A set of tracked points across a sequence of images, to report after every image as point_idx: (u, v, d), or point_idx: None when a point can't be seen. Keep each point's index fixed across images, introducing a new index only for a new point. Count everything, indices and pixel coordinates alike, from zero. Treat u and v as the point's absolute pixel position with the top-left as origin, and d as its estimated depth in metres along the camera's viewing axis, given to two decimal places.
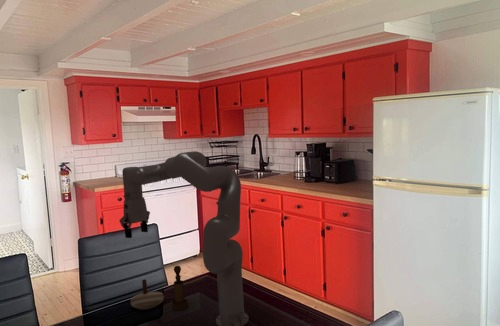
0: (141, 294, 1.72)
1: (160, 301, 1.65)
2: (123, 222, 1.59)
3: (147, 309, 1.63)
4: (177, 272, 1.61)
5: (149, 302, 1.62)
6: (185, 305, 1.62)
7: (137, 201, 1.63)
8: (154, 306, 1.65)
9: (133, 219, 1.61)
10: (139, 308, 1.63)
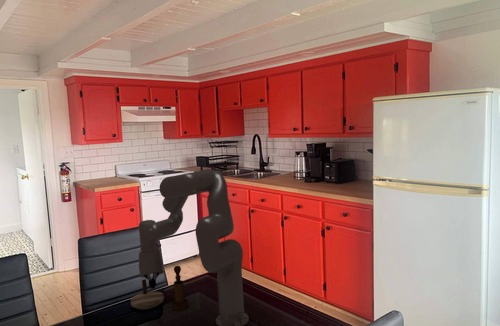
0: (141, 294, 1.72)
1: (160, 301, 1.65)
2: None
3: (147, 309, 1.63)
4: (177, 272, 1.61)
5: (149, 302, 1.62)
6: (185, 305, 1.62)
7: None
8: (154, 306, 1.65)
9: None
10: (139, 308, 1.63)
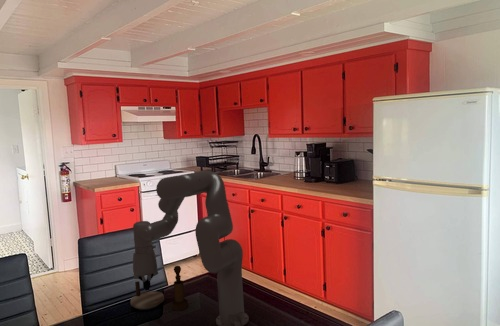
0: (136, 297, 1.69)
1: (163, 297, 1.69)
2: None
3: (147, 309, 1.63)
4: (177, 272, 1.61)
5: (156, 300, 1.64)
6: (185, 305, 1.62)
7: None
8: (154, 306, 1.65)
9: None
10: (139, 308, 1.63)
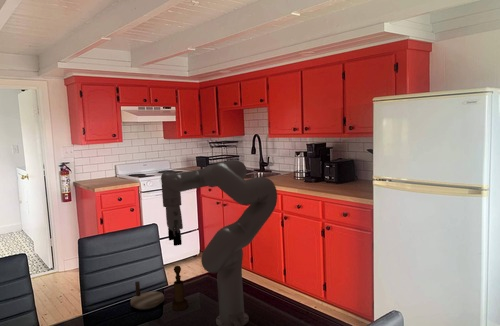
0: (136, 297, 1.69)
1: (163, 297, 1.69)
2: None
3: (147, 309, 1.63)
4: (177, 272, 1.61)
5: (156, 300, 1.64)
6: (185, 305, 1.62)
7: None
8: (154, 306, 1.65)
9: None
10: (139, 308, 1.63)
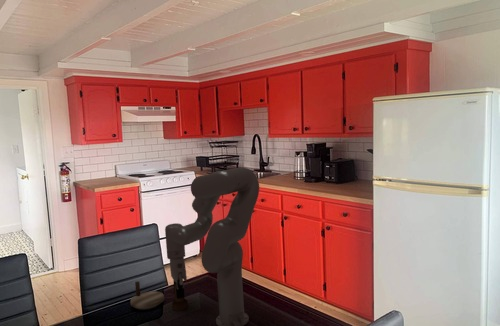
0: (136, 297, 1.69)
1: (163, 297, 1.69)
2: None
3: (147, 309, 1.63)
4: None
5: (156, 300, 1.64)
6: (185, 305, 1.62)
7: None
8: (154, 306, 1.65)
9: None
10: (139, 308, 1.63)
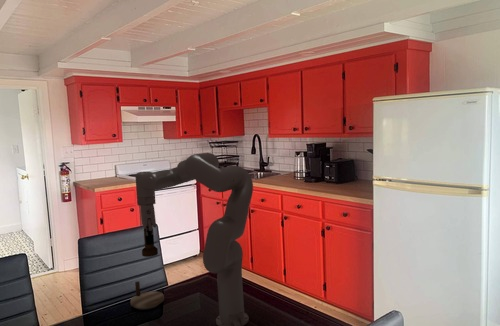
0: (136, 297, 1.69)
1: (163, 297, 1.69)
2: (151, 229, 1.60)
3: (147, 309, 1.63)
4: None
5: (156, 300, 1.64)
6: (154, 252, 1.64)
7: None
8: (154, 306, 1.65)
9: (155, 223, 1.62)
10: (139, 308, 1.63)
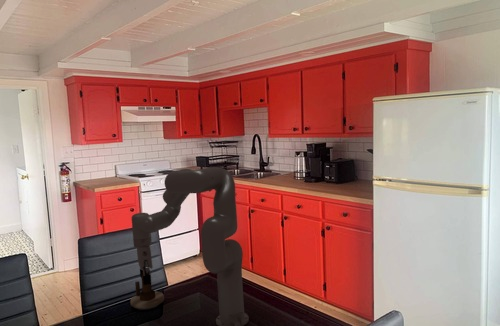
0: (136, 297, 1.69)
1: (163, 297, 1.69)
2: (148, 269, 1.60)
3: (147, 309, 1.63)
4: None
5: (156, 300, 1.64)
6: (152, 295, 1.66)
7: None
8: (154, 306, 1.65)
9: None
10: (139, 308, 1.63)
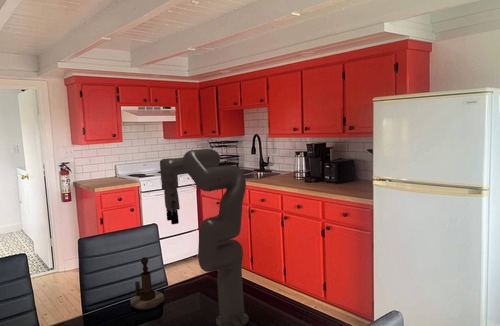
0: (136, 297, 1.69)
1: (163, 297, 1.69)
2: (176, 208, 1.71)
3: (147, 309, 1.63)
4: (144, 263, 1.65)
5: (156, 300, 1.64)
6: (152, 296, 1.66)
7: None
8: (154, 306, 1.65)
9: None
10: (139, 308, 1.63)
